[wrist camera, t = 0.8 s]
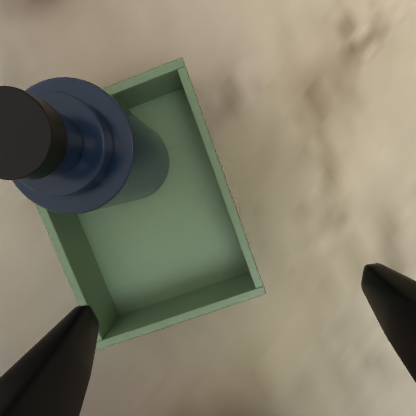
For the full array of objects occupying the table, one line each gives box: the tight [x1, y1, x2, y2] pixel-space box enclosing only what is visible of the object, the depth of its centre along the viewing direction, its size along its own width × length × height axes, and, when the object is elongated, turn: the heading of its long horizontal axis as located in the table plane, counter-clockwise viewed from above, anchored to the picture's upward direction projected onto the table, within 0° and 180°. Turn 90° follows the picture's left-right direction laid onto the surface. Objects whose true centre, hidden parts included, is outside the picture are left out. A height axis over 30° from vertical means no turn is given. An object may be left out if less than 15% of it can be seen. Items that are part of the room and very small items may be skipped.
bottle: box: [0, 77, 169, 214], centre depth 15 cm, size 6×6×13 cm
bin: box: [36, 58, 266, 350], centre depth 20 cm, size 17×13×4 cm
